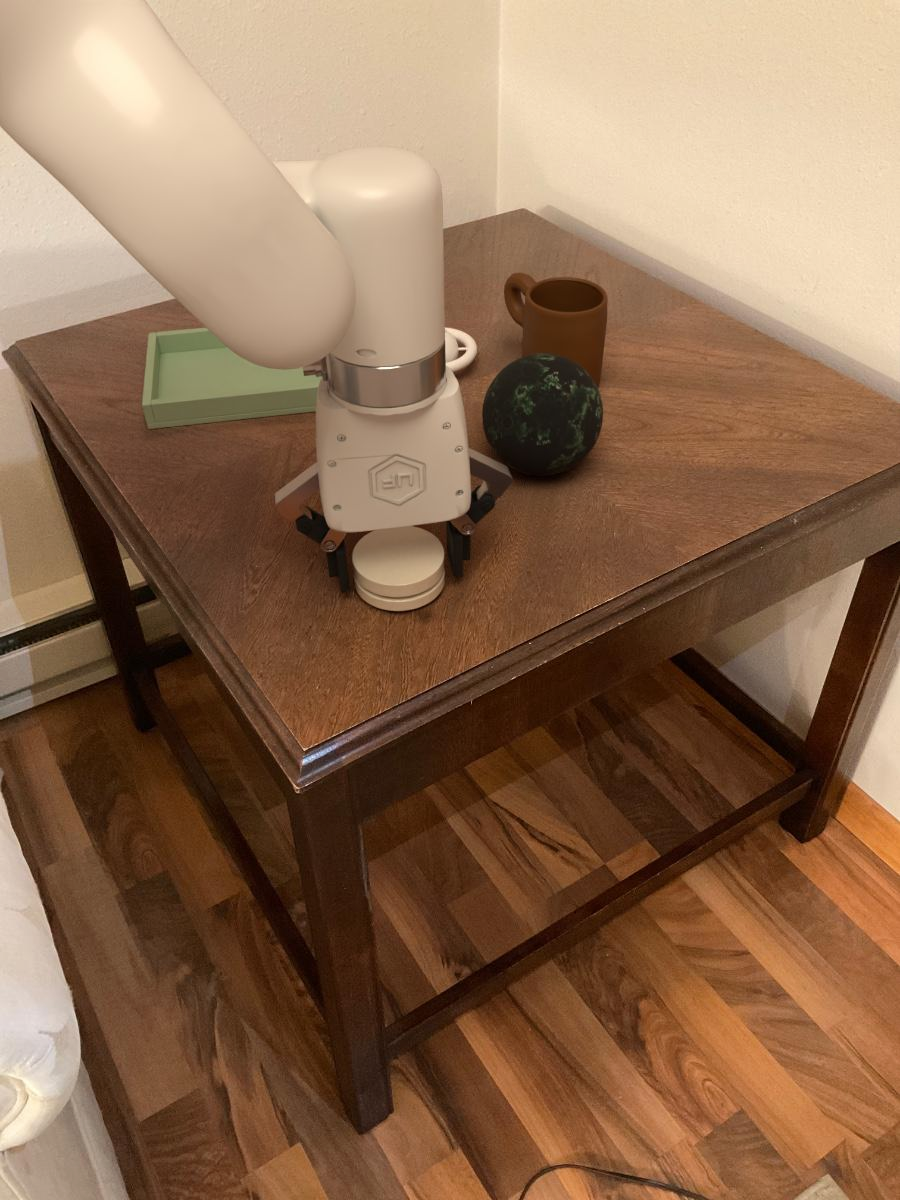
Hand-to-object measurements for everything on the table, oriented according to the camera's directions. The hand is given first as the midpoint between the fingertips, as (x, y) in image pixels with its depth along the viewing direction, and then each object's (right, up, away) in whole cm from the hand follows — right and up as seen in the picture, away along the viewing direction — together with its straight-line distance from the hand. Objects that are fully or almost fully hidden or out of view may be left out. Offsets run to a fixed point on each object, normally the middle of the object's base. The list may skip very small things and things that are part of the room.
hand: (399, 572), depth 74 cm
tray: (-16, +19, +22) cm, 34 cm away
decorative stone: (+11, +9, +12) cm, 19 cm away
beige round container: (0, -1, +1) cm, 1 cm away
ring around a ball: (+2, +21, +24) cm, 32 cm away
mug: (+13, +19, +22) cm, 32 cm away
